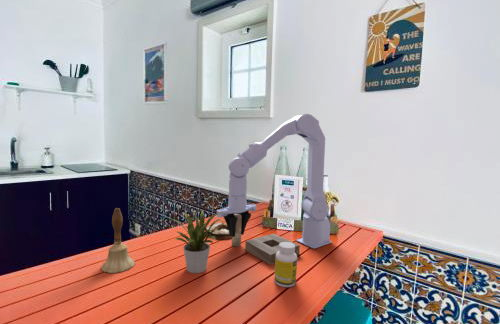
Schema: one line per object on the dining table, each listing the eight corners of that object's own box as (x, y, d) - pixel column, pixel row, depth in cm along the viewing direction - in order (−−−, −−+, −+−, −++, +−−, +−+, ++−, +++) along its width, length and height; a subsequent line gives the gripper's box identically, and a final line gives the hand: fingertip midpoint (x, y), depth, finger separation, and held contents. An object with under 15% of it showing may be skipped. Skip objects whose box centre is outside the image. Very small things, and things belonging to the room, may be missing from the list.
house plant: (235, 262, 80) (236, 206, 78) (213, 286, 67) (215, 221, 65) (192, 253, 85) (192, 201, 83) (163, 275, 72) (163, 213, 70)
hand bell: (95, 266, 75) (93, 209, 74) (125, 256, 82) (124, 203, 80) (110, 276, 70) (109, 215, 69) (140, 265, 77) (140, 208, 75)
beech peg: (237, 242, 95) (238, 213, 94) (242, 245, 92) (243, 215, 91) (230, 244, 93) (230, 215, 92) (235, 247, 90) (235, 217, 89)
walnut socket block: (273, 241, 96) (273, 233, 96) (299, 254, 86) (299, 245, 86) (245, 250, 89) (245, 240, 88) (270, 264, 79) (270, 254, 79)
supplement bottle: (295, 289, 67) (297, 250, 66) (273, 286, 68) (274, 247, 67) (296, 278, 72) (298, 241, 71) (275, 275, 73) (277, 239, 72)
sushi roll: (193, 233, 103) (193, 222, 102) (223, 224, 114) (223, 214, 113) (220, 245, 93) (221, 233, 92) (250, 234, 104) (250, 223, 104)
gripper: (248, 190, 98) (246, 227, 100) (212, 194, 90) (211, 235, 91) (260, 193, 93) (259, 233, 94) (223, 199, 84) (222, 242, 85)
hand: (236, 234), depth 92 cm, fingers closed on beech peg, 3 cm apart
